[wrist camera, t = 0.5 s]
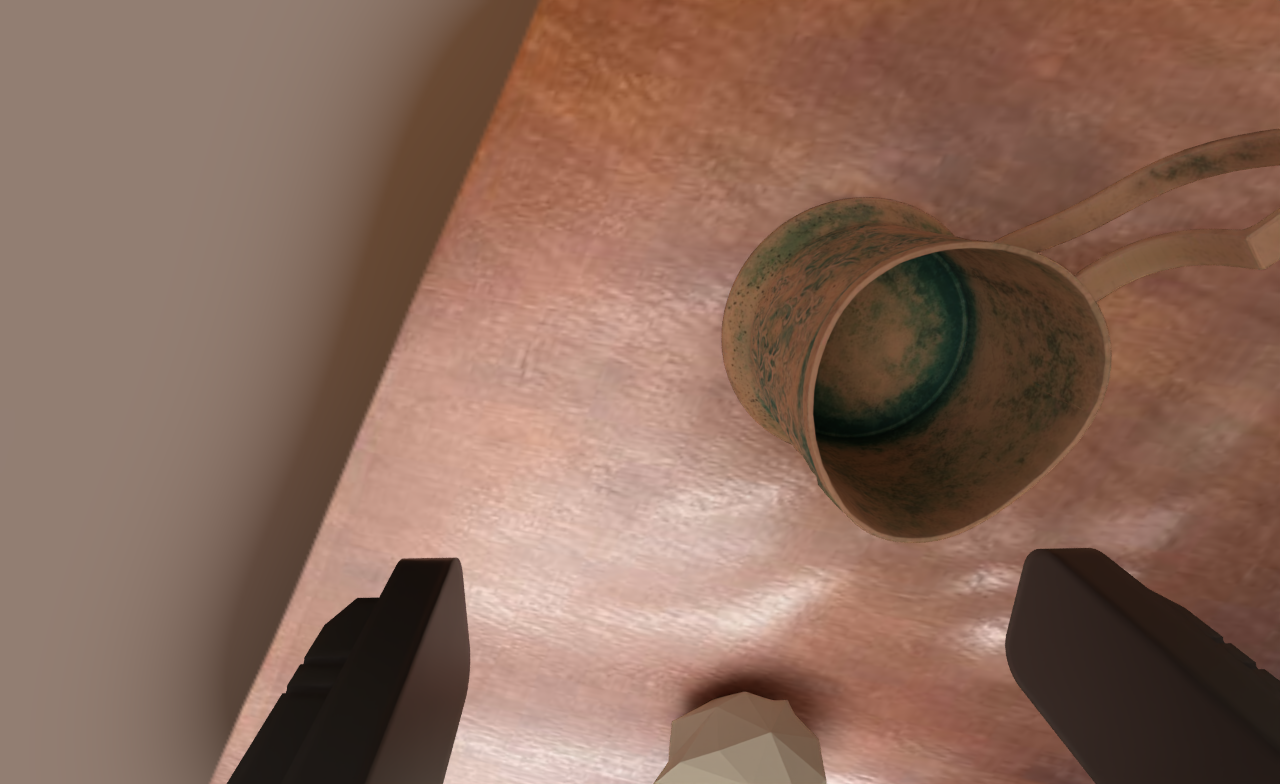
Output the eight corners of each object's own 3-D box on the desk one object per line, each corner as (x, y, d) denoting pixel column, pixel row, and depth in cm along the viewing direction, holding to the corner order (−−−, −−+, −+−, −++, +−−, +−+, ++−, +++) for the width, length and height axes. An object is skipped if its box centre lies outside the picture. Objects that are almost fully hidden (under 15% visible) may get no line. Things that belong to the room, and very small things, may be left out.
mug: (1140, 259, 28) (1493, 315, 17) (816, 493, 31) (932, 673, 20) (1015, 32, 25) (1348, -85, 14) (668, 316, 28) (708, 410, 17)
